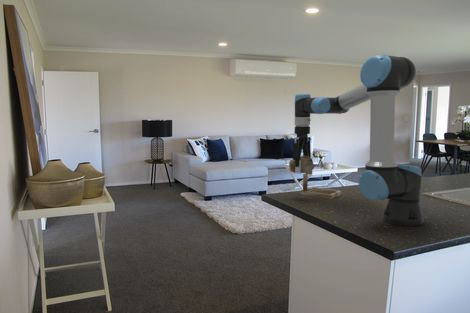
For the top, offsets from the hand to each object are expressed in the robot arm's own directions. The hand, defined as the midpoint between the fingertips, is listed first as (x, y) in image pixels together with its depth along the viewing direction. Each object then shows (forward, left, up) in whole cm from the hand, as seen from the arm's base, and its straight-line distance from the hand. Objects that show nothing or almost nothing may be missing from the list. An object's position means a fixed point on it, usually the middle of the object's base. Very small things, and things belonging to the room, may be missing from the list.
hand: (301, 172), depth 187 cm
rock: (0, 0, -1) cm, 1 cm away
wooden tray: (+16, -3, -14) cm, 21 cm away
